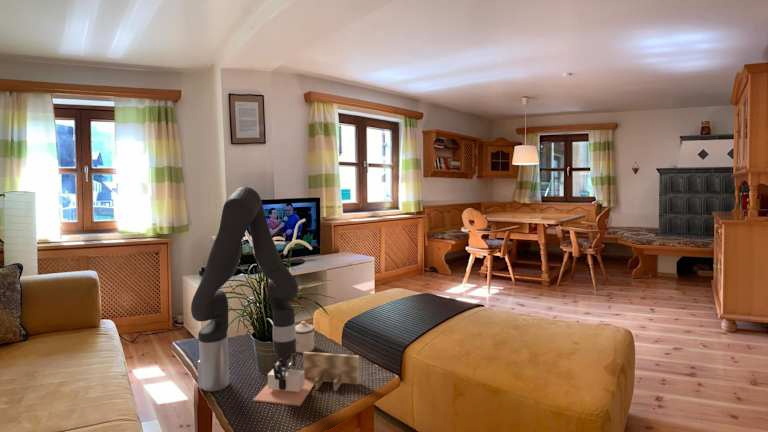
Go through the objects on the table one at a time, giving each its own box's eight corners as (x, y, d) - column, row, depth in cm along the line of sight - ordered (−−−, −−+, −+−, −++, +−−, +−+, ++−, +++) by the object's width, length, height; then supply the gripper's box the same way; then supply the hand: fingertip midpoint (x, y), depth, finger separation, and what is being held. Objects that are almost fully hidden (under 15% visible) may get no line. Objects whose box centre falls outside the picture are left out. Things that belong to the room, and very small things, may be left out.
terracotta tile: (253, 401, 142) (253, 399, 142) (274, 377, 158) (274, 376, 158) (300, 405, 139) (300, 404, 139) (316, 381, 155) (316, 380, 155)
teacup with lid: (314, 343, 188) (314, 317, 187) (315, 352, 180) (314, 324, 178) (286, 345, 186) (285, 319, 185) (285, 354, 177) (284, 327, 176)
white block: (299, 391, 145) (298, 377, 144) (268, 388, 147) (267, 374, 146) (304, 384, 150) (304, 370, 149) (274, 381, 152) (274, 367, 151)
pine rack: (297, 388, 151) (296, 360, 149) (305, 378, 158) (304, 351, 157) (354, 393, 147) (353, 364, 146) (359, 382, 154) (358, 355, 153)
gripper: (286, 346, 139) (287, 397, 140) (303, 329, 153) (304, 376, 154) (264, 344, 140) (266, 395, 142) (282, 328, 154) (284, 374, 156)
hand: (286, 384), depth 148 cm, fingers closed on white block, 5 cm apart
